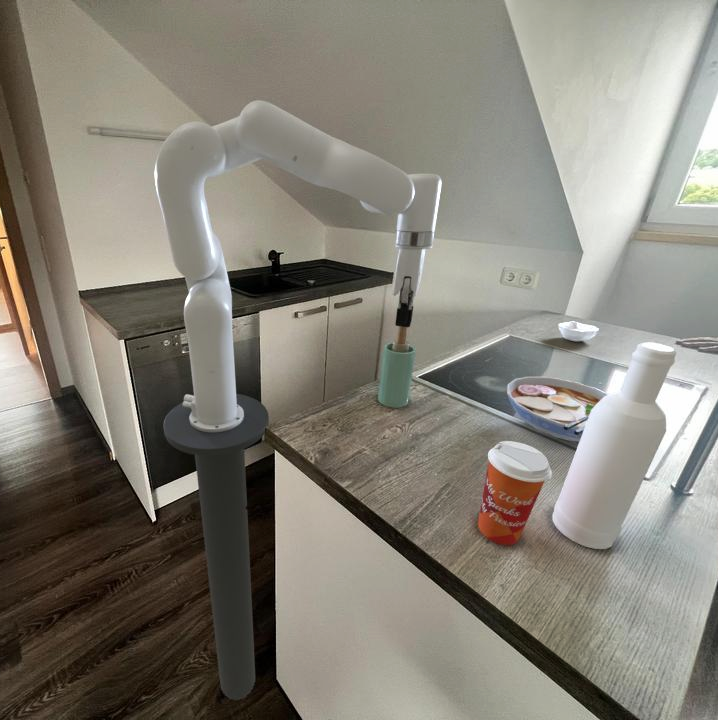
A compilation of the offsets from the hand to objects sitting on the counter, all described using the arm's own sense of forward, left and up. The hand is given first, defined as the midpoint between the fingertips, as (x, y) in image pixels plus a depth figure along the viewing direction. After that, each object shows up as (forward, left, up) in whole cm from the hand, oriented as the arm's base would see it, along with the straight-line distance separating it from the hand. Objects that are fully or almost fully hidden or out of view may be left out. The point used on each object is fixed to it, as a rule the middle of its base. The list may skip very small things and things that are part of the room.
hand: (403, 323), depth 87 cm
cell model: (+54, +67, -20) cm, 88 cm away
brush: (0, 0, -11) cm, 11 cm away
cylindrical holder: (0, 0, -20) cm, 20 cm away
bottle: (+32, -30, -20) cm, 48 cm away
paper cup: (+20, -35, -20) cm, 45 cm away
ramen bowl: (+35, 0, -20) cm, 40 cm away
